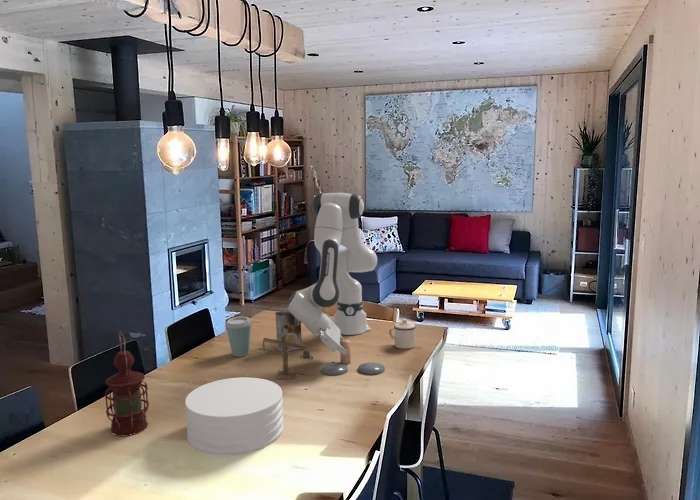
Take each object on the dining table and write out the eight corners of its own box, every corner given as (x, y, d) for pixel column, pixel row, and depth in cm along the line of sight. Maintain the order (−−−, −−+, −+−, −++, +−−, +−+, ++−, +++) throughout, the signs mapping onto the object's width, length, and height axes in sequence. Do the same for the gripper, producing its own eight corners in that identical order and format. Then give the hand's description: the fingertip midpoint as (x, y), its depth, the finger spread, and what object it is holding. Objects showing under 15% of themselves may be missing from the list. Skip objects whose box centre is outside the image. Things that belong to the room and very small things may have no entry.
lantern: (155, 430, 171) (147, 334, 166) (111, 441, 164) (102, 341, 159) (145, 415, 181) (138, 324, 176) (104, 425, 174) (95, 331, 170)
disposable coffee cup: (244, 359, 230) (242, 323, 227) (221, 356, 234) (219, 321, 231) (257, 351, 239) (256, 317, 237) (235, 348, 243) (234, 314, 241)
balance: (259, 373, 215) (257, 335, 212) (314, 372, 215) (313, 334, 212) (257, 379, 209) (255, 340, 207) (313, 378, 209) (312, 339, 207)
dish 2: (358, 365, 222) (358, 362, 221) (383, 364, 222) (383, 362, 221) (358, 374, 212) (358, 372, 212) (385, 374, 212) (385, 371, 212)
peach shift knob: (340, 361, 227) (340, 339, 225) (350, 360, 227) (350, 339, 225) (340, 364, 223) (339, 342, 221) (350, 364, 223) (350, 342, 221)
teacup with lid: (418, 344, 245) (419, 318, 243) (410, 350, 237) (410, 323, 236) (393, 340, 251) (393, 314, 249) (384, 346, 243) (384, 319, 242)
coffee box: (296, 344, 247) (295, 308, 245) (302, 349, 242) (301, 312, 239) (276, 348, 243) (275, 311, 241) (282, 352, 238) (280, 315, 235)
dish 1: (322, 365, 222) (322, 363, 222) (347, 365, 222) (347, 362, 221) (320, 375, 212) (320, 372, 212) (347, 375, 212) (347, 372, 212)
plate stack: (203, 411, 184) (201, 377, 182) (289, 411, 183) (288, 377, 181) (174, 456, 156) (171, 416, 154) (275, 456, 155) (274, 416, 153)
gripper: (324, 327, 212) (351, 352, 213) (327, 312, 232) (351, 335, 233) (313, 339, 212) (339, 363, 214) (316, 323, 232) (340, 346, 234)
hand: (346, 349), depth 224 cm, fingers open, 8 cm apart
